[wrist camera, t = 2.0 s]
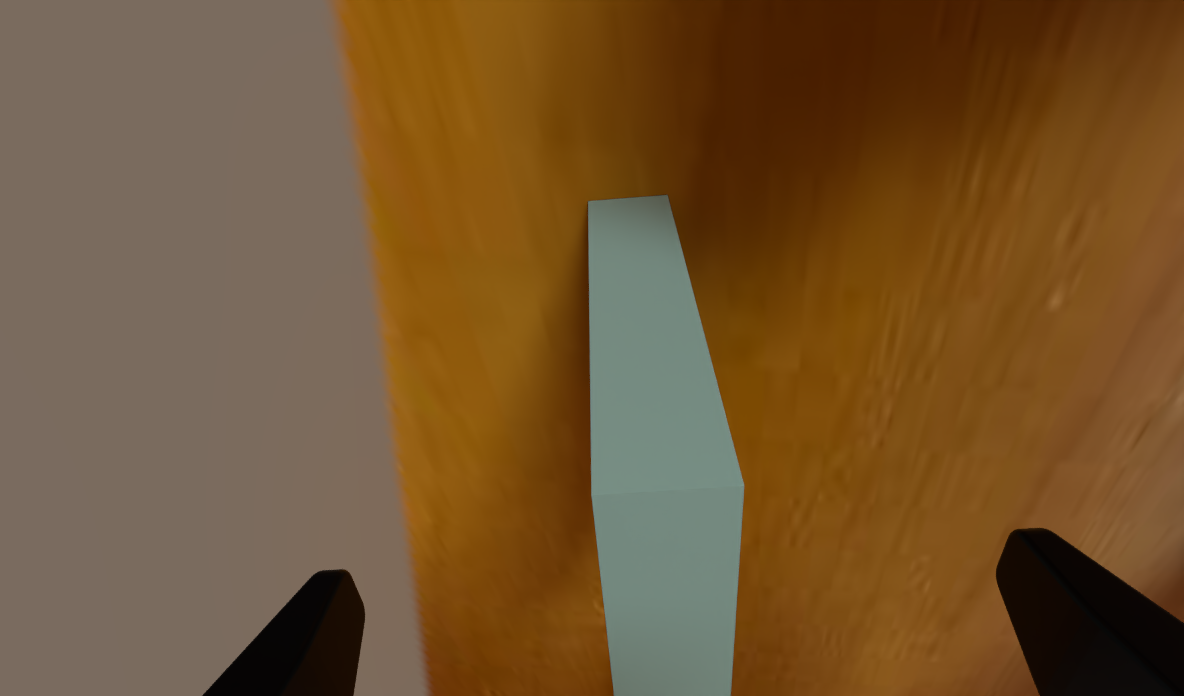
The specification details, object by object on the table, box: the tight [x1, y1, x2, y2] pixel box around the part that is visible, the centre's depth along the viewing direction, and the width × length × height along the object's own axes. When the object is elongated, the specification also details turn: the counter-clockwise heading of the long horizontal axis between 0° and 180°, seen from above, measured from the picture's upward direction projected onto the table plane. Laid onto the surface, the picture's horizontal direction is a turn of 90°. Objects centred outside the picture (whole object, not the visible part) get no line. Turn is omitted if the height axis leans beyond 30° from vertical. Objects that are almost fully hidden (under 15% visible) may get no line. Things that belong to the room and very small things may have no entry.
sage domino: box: [588, 195, 744, 696], centre depth 12 cm, size 2×5×8 cm, turn 5°
